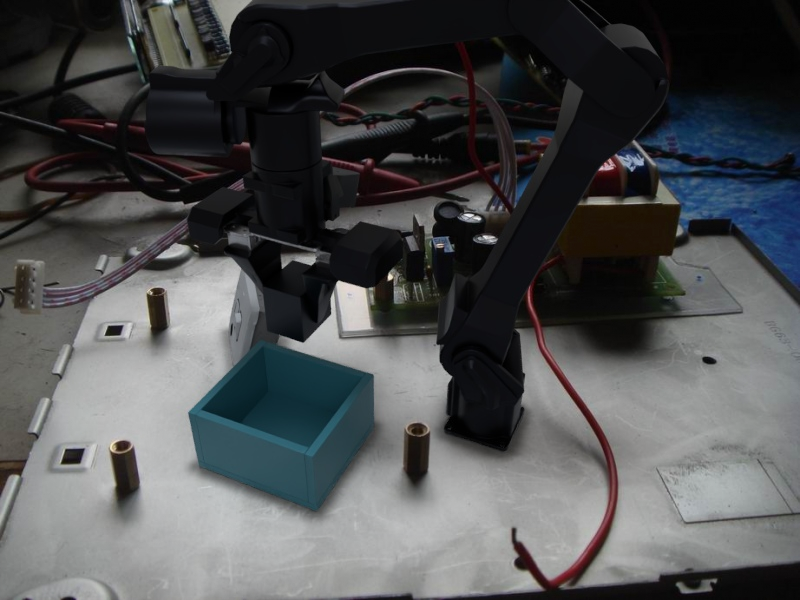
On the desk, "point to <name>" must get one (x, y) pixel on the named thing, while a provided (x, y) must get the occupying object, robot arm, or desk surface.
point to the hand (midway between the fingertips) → (299, 314)
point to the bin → (284, 422)
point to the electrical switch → (247, 319)
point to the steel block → (290, 304)
